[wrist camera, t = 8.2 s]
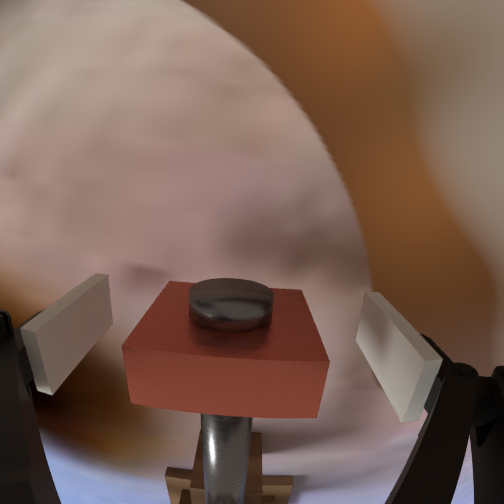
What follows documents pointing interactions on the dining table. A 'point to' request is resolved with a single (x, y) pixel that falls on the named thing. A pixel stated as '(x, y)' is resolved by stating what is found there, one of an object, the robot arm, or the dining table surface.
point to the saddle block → (252, 481)
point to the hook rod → (227, 366)
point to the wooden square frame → (273, 486)
